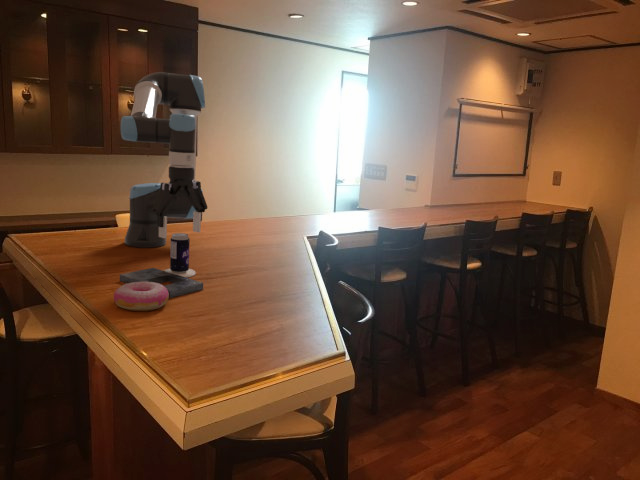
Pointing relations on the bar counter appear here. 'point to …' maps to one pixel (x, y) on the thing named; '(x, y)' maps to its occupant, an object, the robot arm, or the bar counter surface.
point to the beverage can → (179, 253)
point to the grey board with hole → (158, 276)
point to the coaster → (187, 274)
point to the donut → (141, 296)
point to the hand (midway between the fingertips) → (180, 234)
